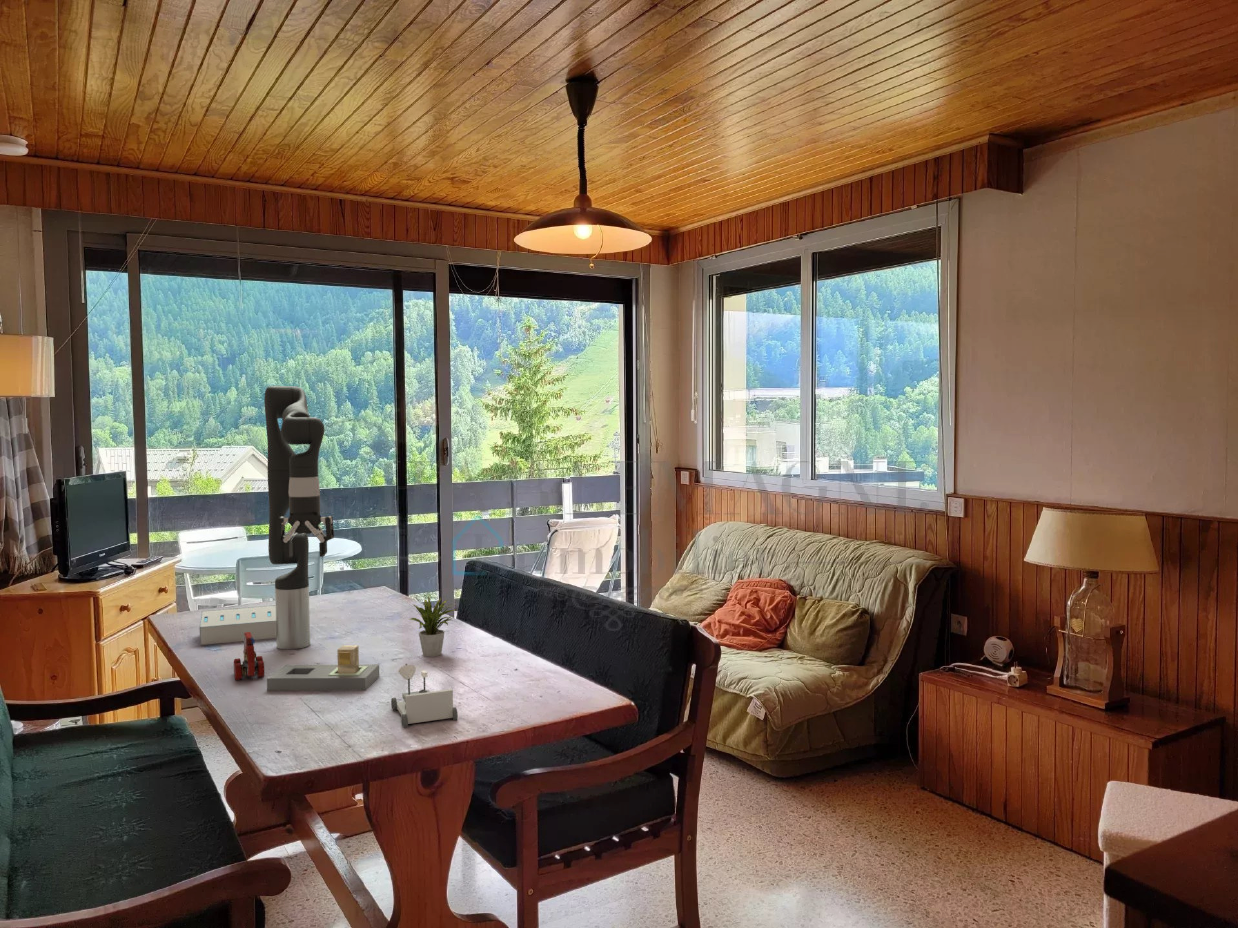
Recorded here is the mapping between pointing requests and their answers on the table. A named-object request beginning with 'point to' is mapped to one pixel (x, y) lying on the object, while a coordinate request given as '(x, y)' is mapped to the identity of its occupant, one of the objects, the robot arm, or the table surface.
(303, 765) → the table surface
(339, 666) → the plug
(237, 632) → the warehouse
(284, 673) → the panel
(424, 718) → the toy car
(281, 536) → the robot arm
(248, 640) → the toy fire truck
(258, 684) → the table surface
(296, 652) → the table surface
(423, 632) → the house plant
